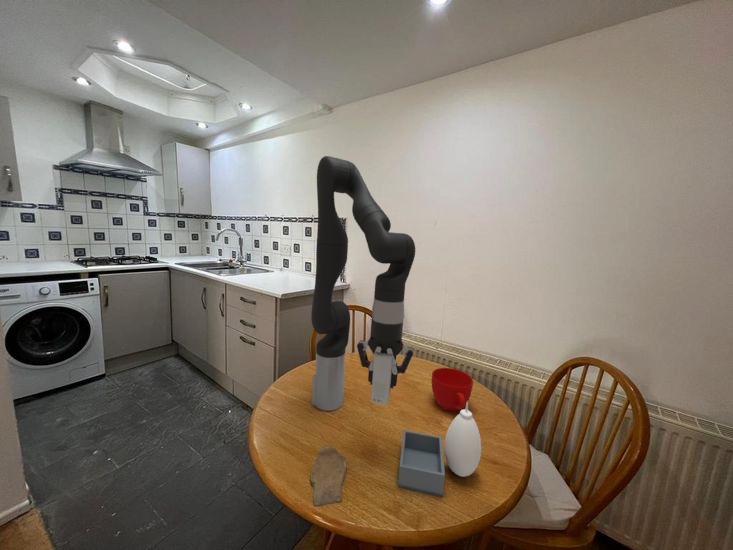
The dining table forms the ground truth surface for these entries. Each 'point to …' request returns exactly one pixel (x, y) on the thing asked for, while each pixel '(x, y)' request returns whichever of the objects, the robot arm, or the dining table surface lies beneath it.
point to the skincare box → (381, 378)
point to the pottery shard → (328, 477)
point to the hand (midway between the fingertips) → (382, 384)
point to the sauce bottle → (463, 444)
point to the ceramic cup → (451, 388)
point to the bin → (422, 463)
